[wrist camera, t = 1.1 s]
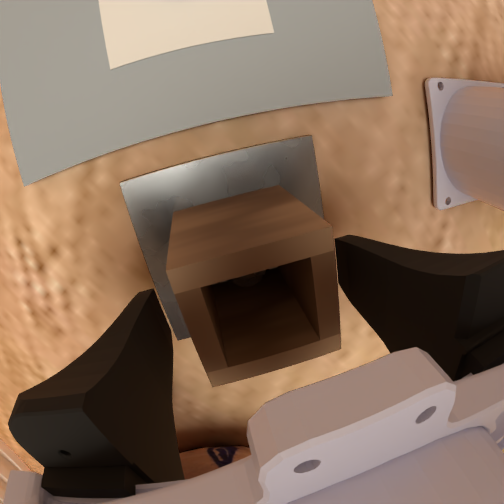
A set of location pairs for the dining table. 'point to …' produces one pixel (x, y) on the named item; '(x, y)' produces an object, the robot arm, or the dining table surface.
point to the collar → (262, 293)
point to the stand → (211, 189)
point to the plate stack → (8, 466)
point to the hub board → (171, 68)
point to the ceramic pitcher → (210, 459)
